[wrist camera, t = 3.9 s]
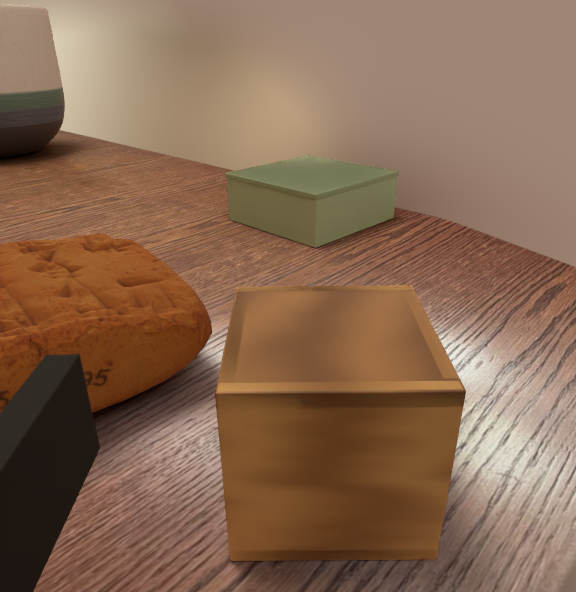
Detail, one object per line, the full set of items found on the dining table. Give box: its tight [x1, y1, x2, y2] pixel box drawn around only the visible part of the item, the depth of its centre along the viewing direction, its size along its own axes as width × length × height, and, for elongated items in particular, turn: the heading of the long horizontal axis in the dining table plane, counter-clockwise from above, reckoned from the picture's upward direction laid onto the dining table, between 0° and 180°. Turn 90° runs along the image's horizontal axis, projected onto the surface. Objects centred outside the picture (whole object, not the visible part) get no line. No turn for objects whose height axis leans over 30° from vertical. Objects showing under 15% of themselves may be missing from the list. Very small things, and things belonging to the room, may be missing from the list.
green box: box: [225, 155, 399, 248], centre depth 65 cm, size 15×15×6 cm
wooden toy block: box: [215, 285, 466, 561], centre depth 24 cm, size 9×9×9 cm
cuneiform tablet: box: [0, 233, 212, 413], centre depth 33 cm, size 22×17×8 cm
